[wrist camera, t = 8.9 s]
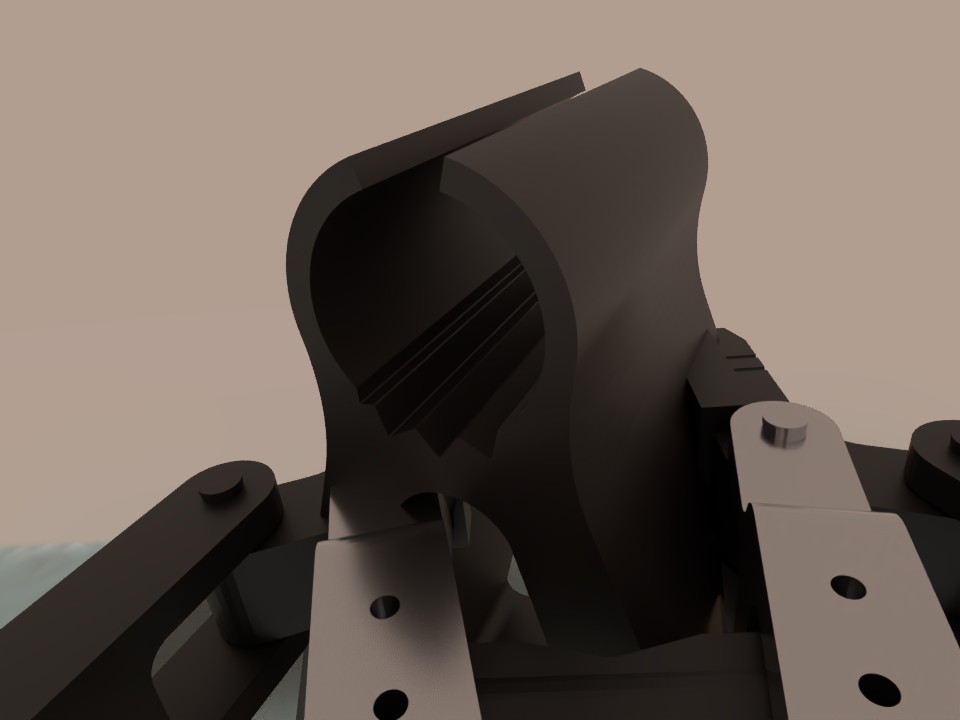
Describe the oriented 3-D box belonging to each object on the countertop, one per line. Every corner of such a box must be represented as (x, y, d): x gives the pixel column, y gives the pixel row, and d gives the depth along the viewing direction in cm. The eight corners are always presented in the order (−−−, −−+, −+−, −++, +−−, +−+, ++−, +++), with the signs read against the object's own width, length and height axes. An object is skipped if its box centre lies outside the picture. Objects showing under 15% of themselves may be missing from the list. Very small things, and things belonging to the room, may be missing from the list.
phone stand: (291, 800, 13) (47, 157, 7) (444, 579, 18) (364, 83, 12) (814, 1082, 9) (1125, 156, 3) (832, 701, 14) (977, 48, 8)
